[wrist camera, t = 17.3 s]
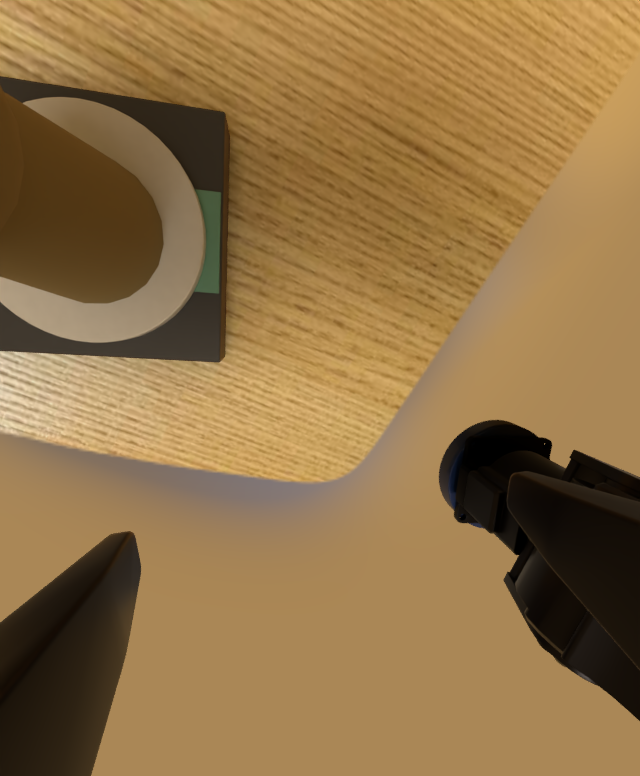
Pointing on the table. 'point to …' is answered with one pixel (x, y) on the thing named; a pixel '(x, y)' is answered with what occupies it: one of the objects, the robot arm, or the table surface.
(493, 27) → the table surface
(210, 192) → the scale
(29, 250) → the brown chess pawn
